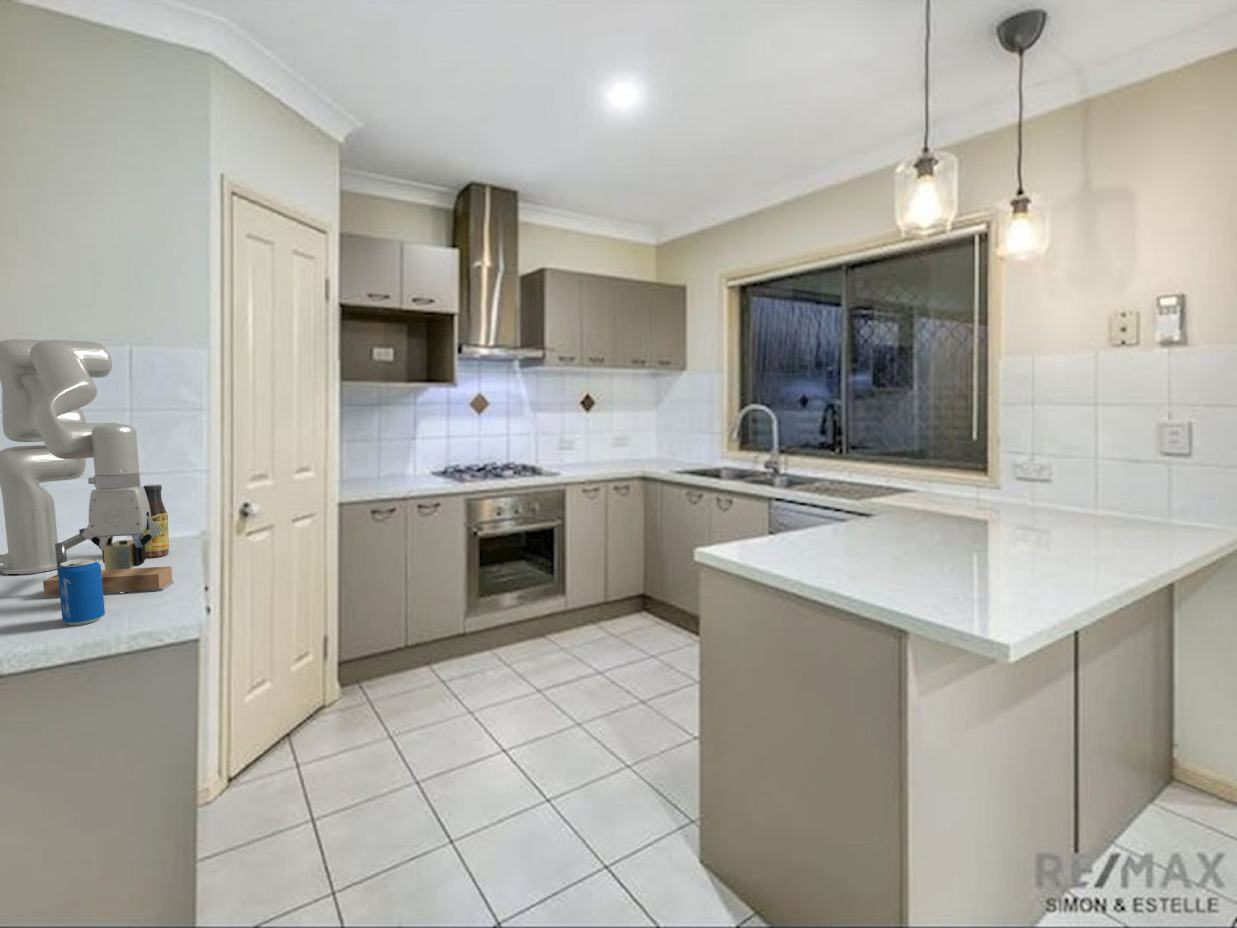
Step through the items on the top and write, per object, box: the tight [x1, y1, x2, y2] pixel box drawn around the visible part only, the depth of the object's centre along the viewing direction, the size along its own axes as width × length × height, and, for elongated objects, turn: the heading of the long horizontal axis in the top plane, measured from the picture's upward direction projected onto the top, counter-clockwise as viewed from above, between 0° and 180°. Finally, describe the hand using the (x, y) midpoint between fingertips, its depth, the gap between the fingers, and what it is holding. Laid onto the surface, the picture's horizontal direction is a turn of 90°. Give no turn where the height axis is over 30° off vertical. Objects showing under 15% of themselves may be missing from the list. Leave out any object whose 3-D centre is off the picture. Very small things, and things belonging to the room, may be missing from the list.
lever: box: [55, 527, 88, 574], centre depth 150 cm, size 16×2×8 cm, turn 21°
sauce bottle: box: [143, 483, 170, 559], centre depth 177 cm, size 7×6×20 cm
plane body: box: [42, 565, 175, 599], centre depth 147 cm, size 23×7×4 cm, turn 105°
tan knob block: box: [103, 539, 135, 570], centre depth 139 cm, size 5×6×5 cm
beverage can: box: [57, 557, 106, 626], centre depth 126 cm, size 6×6×12 cm
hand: (125, 564), depth 139 cm, fingers closed on tan knob block, 4 cm apart
